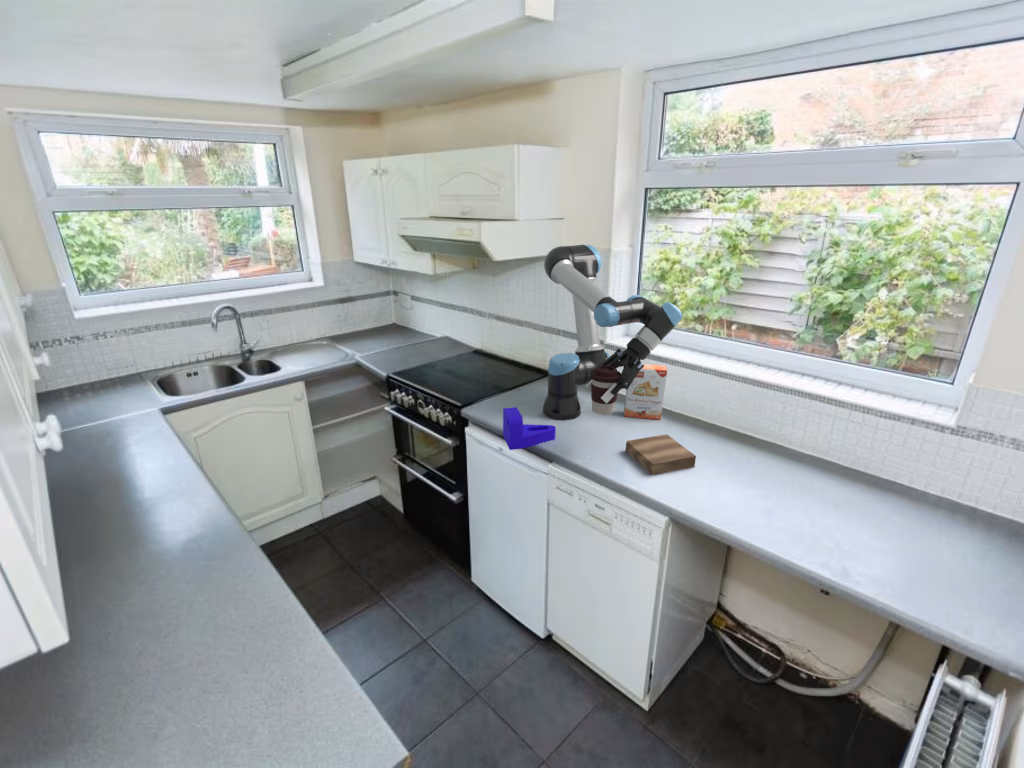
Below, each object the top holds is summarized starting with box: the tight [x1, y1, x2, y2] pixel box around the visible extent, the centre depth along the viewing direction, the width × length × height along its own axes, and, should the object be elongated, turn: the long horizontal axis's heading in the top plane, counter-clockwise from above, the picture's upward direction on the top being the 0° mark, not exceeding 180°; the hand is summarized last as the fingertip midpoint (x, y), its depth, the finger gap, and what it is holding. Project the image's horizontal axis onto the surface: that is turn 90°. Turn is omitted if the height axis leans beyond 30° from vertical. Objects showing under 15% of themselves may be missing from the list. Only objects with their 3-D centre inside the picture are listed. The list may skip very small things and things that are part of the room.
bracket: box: [502, 406, 557, 451], centre depth 178 cm, size 18×11×12 cm, turn 103°
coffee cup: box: [590, 365, 622, 416], centre depth 165 cm, size 10×10×15 cm
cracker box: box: [623, 363, 668, 421], centre depth 195 cm, size 14×6×21 cm, turn 80°
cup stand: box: [625, 433, 697, 476], centre depth 167 cm, size 16×16×4 cm
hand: (596, 394), depth 165 cm, fingers closed on coffee cup, 10 cm apart
